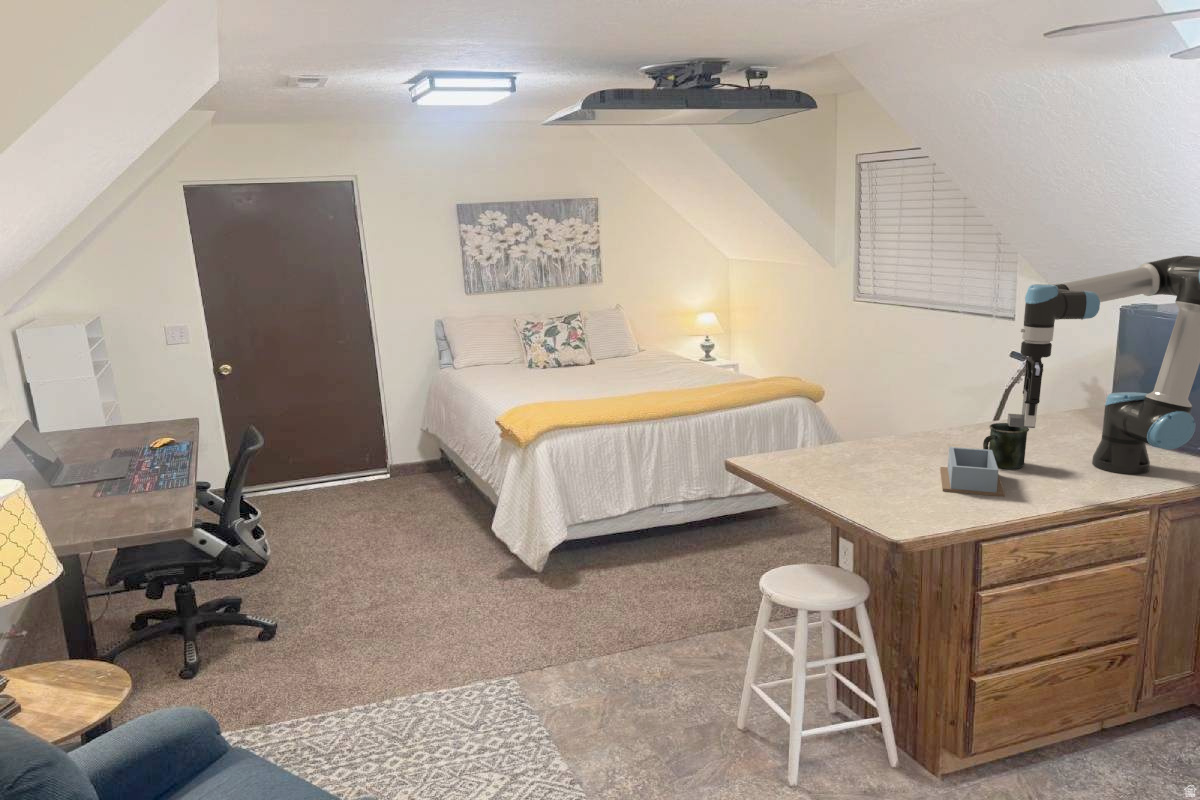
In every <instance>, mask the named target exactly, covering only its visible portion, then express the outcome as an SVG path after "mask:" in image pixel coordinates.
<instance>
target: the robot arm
mask: <svg viewBox="0 0 1200 800" xmlns="http://www.w3.org/2000/svg"><path fill="white" fill-rule="evenodd" d="M1139 295H1140V296H1141V295H1143V296H1147V297H1151V296H1157V295H1164V296H1165V295H1166V296H1175V297H1176V299H1175V302H1174V303H1175V304H1176V306H1177V307H1178V312H1177V315H1176V318H1175V322H1174V325H1173V328H1172V332H1171V333H1170V334H1171V335H1170V338H1169V341H1168V344H1167V347H1166V350H1165V354H1164V356H1163V360H1162V363H1161V366H1160V369H1159V372H1158V376H1157V379H1156V382H1155V384H1154V388H1153V391H1151V392H1149V393H1148V392H1147V393H1145V392H1138V391H1137V392H1135V391H1132V392H1131V391H1125V392H1124V391H1123V392H1122V391H1121V392H1111V393H1109V394H1108V395H1107V397H1106V400H1105V404H1104V412H1103V423H1102V432H1101V440H1100V442H1099V444H1098V445H1097V448H1096V450H1095V451H1094V453H1093V456H1092V460H1091V461H1092V462H1091V464H1092V465H1093V466H1094V467H1095V468H1098V469H1100V470H1104V471H1108V472H1112V473H1117V474H1126V475H1127V474H1128V475H1131V474H1132V475H1134V474H1135V475H1138V474H1139V475H1141V474H1145V473H1148V472H1149V471H1150V465H1151V463H1150V462H1151V461H1150V457H1149V453H1148V449H1147V444H1148V445H1150V446H1152V447H1154V448H1158V449H1162V450H1175V449H1176V450H1177V449H1179V448H1180V447H1182V446H1184V445H1185V444H1187V443H1188V442H1189V441H1190V440H1191V439H1192V437H1193V436H1194V433H1195V431H1196V421H1195V419H1194V417H1193V416H1192V415H1191V411H1192V407H1193V405H1192V404H1191V402H1190V400H1189V396H1190V394H1191V391H1192V387H1193V385H1194V382H1195V378H1196V376H1197V372H1198V370H1199V366H1200V256H1193V255H1179V256H1178V255H1177V256H1172V257H1167V258H1163V259H1158V260H1154V261H1149V262H1145V263H1141V264H1140V265H1139V266H1138V267H1137V268H1133V269H1127V270H1123V271H1118V272H1112V273H1108V274H1103V275H1098V276H1093V277H1087V278H1082V279H1078V280H1072V281H1068V282H1064V283H1058V284H1042V283H1041V284H1040V283H1037V284H1031V285H1029V286H1028V287H1027V292H1026V294H1025V297H1024V302H1025V304H1024V316H1023V328H1021V329H1020V333H1022V338H1021V339H1022V340H1023V341H1022V342H1021V345H1020V354H1021V356H1025V357H1028V359H1026V360H1025V373H1024V379H1023V380H1024V381H1023V390H1022V395H1023V397H1024V389H1028V400H1027V401H1025V403H1026V411H1025V421H1024V426H1030V427H1035V428H1036V424H1037V415H1036V414H1038V406H1037V405H1038V404H1040V400H1041V399H1040V397H1041V387H1042V379H1043V378H1042V377H1043V373H1044V363H1043V361H1042V359H1043V358H1048V357H1051V355H1052V347H1053V344H1052V343H1051V342H1052V341H1053V338H1054V330H1055V320H1056V321H1057V320H1058V321H1059V320H1081V321H1083V320H1086V319H1087V320H1088V319H1094V318H1095V317H1096V316H1097V315H1098V313H1099V312H1100V306H1101V303H1103V302H1108V301H1115V300H1118V299H1124V298H1129V297H1134V296H1139ZM1035 423H1036V424H1035Z"/></svg>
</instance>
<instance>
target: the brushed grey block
mask: <svg viewBox="0 0 1200 800" xmlns="http://www.w3.org/2000/svg"><path fill="white" fill-rule="evenodd" d="M1023 395H1024V396H1023V399H1022V408H1021V409H1022V410H1021V413H1020V414H1019V413H1008V414H1007V422H1006V423H1008V424H1009V426H1010V427H1025V428H1029V429H1035V428H1036V426H1035V427H1030V426H1024V421H1025V411H1026V403H1025V401H1027V400H1028V389H1024V394H1023ZM1037 407H1038V405H1037ZM1037 414H1038V413H1037ZM1037 414H1036V416H1037ZM1036 424H1037V422H1036V423H1035V425H1036Z"/></svg>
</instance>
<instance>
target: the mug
mask: <svg viewBox="0 0 1200 800" xmlns="http://www.w3.org/2000/svg"><path fill="white" fill-rule="evenodd" d="M989 429H990V433H989V434H990V435H988V436H985V438H984V440H983V443H982V447H983V448H982V449H987V450H992V451H993V455H994V458H995V461H996V464H997V467H998V469H1006V470H1007V469H1008V470H1017V469H1020V468H1022V467H1024V465H1025V458H1026V447H1027V436H1028V433H1029V430H1030V428H1025V427H1010V426H1009V424H1008V422H996V423H992V424H990V425H989Z"/></svg>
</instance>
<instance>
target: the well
mask: <svg viewBox="0 0 1200 800" xmlns="http://www.w3.org/2000/svg"><path fill="white" fill-rule="evenodd" d="M939 471H940V477H941V478H940V479H941V486H942V488H941V489H942V492H946V491H948V492H947V493H958V492H960V494H970V493H972V494H971V495H983V496H995V497H1005V491H1004V487H1003V484H1002V482H1001V481H1002V480H1001V479H1000V475H999V468H998V467H997V464H996V461H995V458H994V455H993V451H992V450H987V449H983V448H970V447H969V448H968V447H956V446H949V447H948V459H947V467H945V466H940V467H939Z"/></svg>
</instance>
